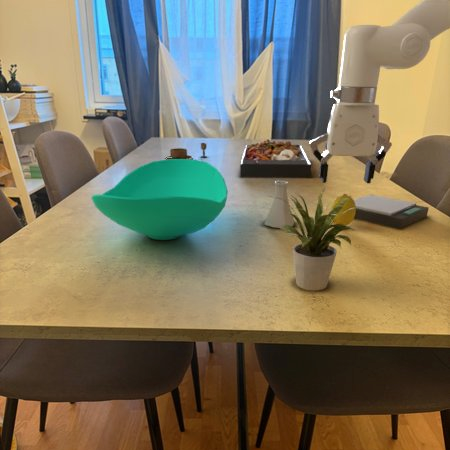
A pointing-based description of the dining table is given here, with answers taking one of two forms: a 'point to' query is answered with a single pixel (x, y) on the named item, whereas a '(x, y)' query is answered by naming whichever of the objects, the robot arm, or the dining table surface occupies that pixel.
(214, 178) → the table top decor
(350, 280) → the dining table surface
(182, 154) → the place setting
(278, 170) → the food platter
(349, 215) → the lemon
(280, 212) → the flask
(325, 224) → the house plant
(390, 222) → the scale
